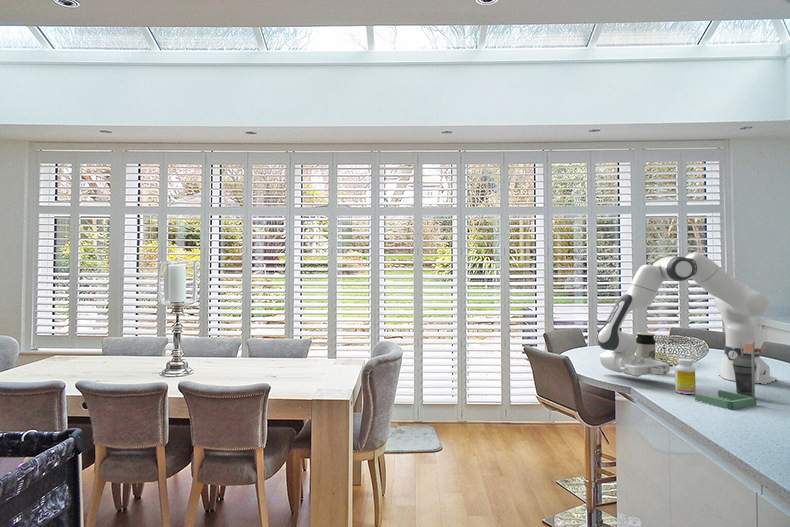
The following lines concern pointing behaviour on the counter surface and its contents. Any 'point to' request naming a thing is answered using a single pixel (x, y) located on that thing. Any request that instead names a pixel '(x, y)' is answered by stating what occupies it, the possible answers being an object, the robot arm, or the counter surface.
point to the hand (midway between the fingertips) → (664, 372)
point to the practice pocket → (737, 399)
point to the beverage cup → (743, 374)
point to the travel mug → (645, 345)
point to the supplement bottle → (685, 377)
